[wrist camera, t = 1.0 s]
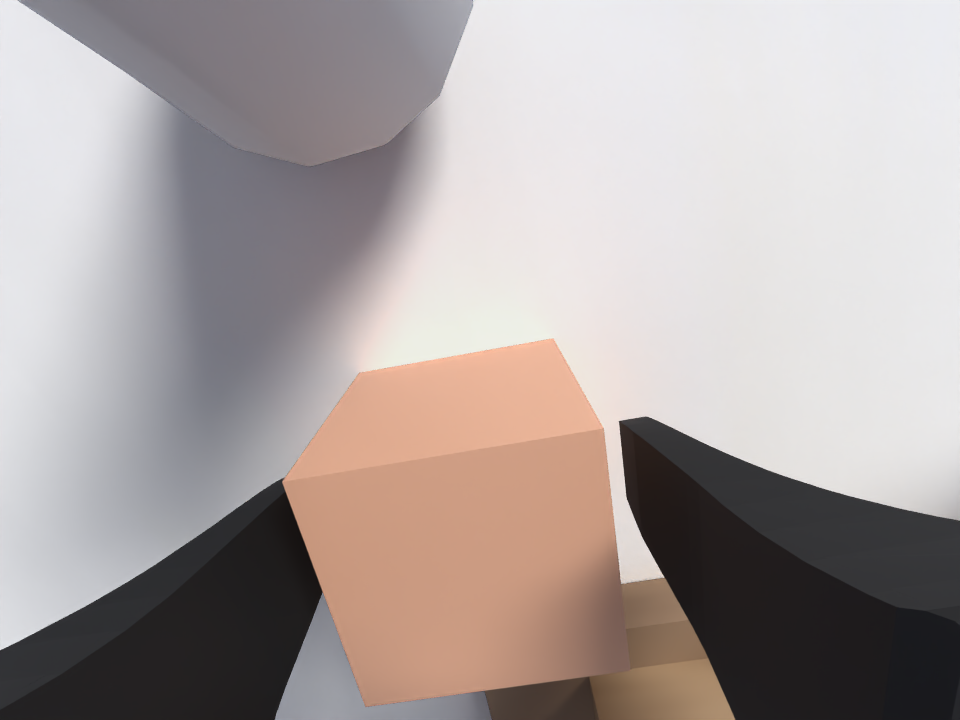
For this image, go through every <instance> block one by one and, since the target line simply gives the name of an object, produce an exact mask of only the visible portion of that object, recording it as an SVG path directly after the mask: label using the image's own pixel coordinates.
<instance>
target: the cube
mask: <svg viewBox="0 0 960 720" xmlns="http://www.w3.org/2000/svg"><path fill="white" fill-rule="evenodd" d="M282 483H283V486H284V488H285V491H286V494H287V497H288V499H289V502H290V505H291V507H292V510H293V513H294V515H295V518H296V521H297V524H298V526H299V529H300V532H301V534H302V537H303V540H304V542H305V545H306V548H307V551H308V553H309V556H310V559H311V561H312V564H313V567H314V569H315V572H316V575H317V577H318V580H319V583H320V586H321V588H322V591H323V594H324V596H325V599H326V602H327V604H328V607H329V610H330V613H331V615H332V618H333V621H334V623H335V626H336V629H337V631H338V634H339V637H340V639H341V642H342V645H343V648H344V650H345V653H346V656H347V658H348V661H349V664H350V666H351V669H352V672H353V675H354V677H355V680H356V683H357V685H358V688H359V691H360V693H361V696H362V699H363V702H364V704H365V707H369V706H376V705H384V704H391V703H398V702H406V701H413V700H420V699H427V698H435V697H442V696H449V695H457V694H464V693H471V692H479V691H486V690H493V689H501V688H508V687H515V686H523V685H530V684H537V683H544V682H552V681H559V680H566V679H574V678H581V677H588V676H596V675H603V674H610V673H618V672H625V671H631V670H630V661H629V652H628V643H627V634H626V625H625V616H624V607H623V598H622V589H621V580H620V571H619V562H618V553H617V544H616V535H615V526H614V517H613V508H612V499H611V490H610V481H609V472H608V463H607V454H606V445H605V436H604V428H603V426H602V425H601V423H600V421H599V419H598V418H597V416H596V414H595V412H594V410H593V409H592V407H591V405H590V403H589V401H588V400H587V398H586V396H585V394H584V393H583V391H582V389H581V387H580V385H579V384H578V382H577V380H576V378H575V376H574V375H573V373H572V371H571V369H570V368H569V366H568V364H567V362H566V360H565V359H564V357H563V355H562V353H561V351H560V350H559V348H558V346H557V344H556V343H555V341H554V339H547V340H542V341H536V342H530V343H525V344H519V345H514V346H508V347H502V348H497V349H491V350H485V351H480V352H474V353H469V354H463V355H457V356H452V357H446V358H440V359H435V360H429V361H424V362H418V363H412V364H407V365H401V366H395V367H390V368H384V369H379V370H373V371H367V372H362V373H359V374H358V375H357V377H356V378H355V380H354V381H353V382H352V384H351V385H350V387H349V388H348V390H347V391H346V392H345V394H344V395H343V397H342V398H341V399H340V401H339V402H338V404H337V405H336V406H335V408H334V409H333V411H332V412H331V413H330V415H329V416H328V418H327V419H326V421H325V422H324V423H323V425H322V426H321V428H320V429H319V430H318V432H317V433H316V435H315V436H314V437H313V439H312V440H311V442H310V443H309V445H308V446H307V447H306V449H305V450H304V452H303V453H302V454H301V456H300V457H299V459H298V460H297V461H296V463H295V464H294V466H293V467H292V468H291V470H290V471H289V473H288V474H287V476H286V477H285V478H284V480H283V481H282Z"/></svg>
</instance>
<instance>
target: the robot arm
mask: <svg viewBox="0 0 960 720" xmlns="http://www.w3.org/2000/svg"><path fill="white" fill-rule="evenodd" d="M619 425H620V436H621V446H622V456H623V466H624V476H625V486H626V496H627V500H628V503H629V505H630V508H631V510H632V513H633V516H634V518H635V521H636V523H637V525H638V528H639V530H640V533H641V535H642V537H643V539H644V541H645V543H646V545H647V547H648V548H649V550H650V552H651V554H652V556H653V558H654V559H655V561H656V563H657V565H658V567H659V568H660V570H661V572H662V574H663V575H664V577H665V579H666V581H667V583H668V584H669V586H670V588H671V590H672V592H673V593H674V595H675V597H676V599H677V600H678V602H679V604H680V606H681V608H682V609H683V611H684V613H685V615H686V616H687V618H688V620H689V622H690V624H691V625H692V627H693V629H694V631H695V633H696V635H697V637H698V639H699V641H700V643H701V645H702V647H703V648H704V650H705V652H706V655H707V657H708V659H709V661H710V664H711V666H712V668H713V670H714V673H715V675H716V677H717V679H718V682H719V684H720V686H721V688H722V691H723V693H724V695H725V697H726V700H727V702H728V704H729V706H730V709H731V711H732V713H733V716H734V718H735V720H960V521H958V520H953V519H947V518H942V517H936V516H932V515H927V514H922V513H917V512H913V511H908V510H903V509H899V508H895V507H891V506H887V505H882V504H878V503H874V502H870V501H866V500H862V499H858V498H854V497H850V496H847V495H843V494H840V493H836V492H832V491H829V490H825V489H822V488H819V487H816V486H813V485H810V484H807V483H803V482H800V481H797V480H794V479H791V478H788V477H785V476H782V475H779V474H777V473H774V472H771V471H768V470H766V469H763V468H761V467H758V466H756V465H753V464H751V463H748V462H746V461H743V460H741V459H738V458H736V457H733V456H731V455H729V454H726V453H724V452H722V451H720V450H717V449H715V448H713V447H711V446H709V445H706V444H704V443H702V442H700V441H698V440H696V439H694V438H692V437H690V436H688V435H685V434H683V433H681V432H679V431H677V430H675V429H673V428H671V427H669V426H667V425H665V424H663V423H661V422H659V421H656V420H654V419H652V418H649V417H640V418H634V419H629V420H623V421H619ZM283 480H284V478H283V479H281V480H279V481H277V482H275V483H274V484H272V485H270V486H269V487H267V488H266V489H264V490H263V491H261V492H260V493H258V494H257V495H255V496H254V497H252V498H251V499H250V500H248V501H247V502H245V503H244V504H243V505H241V506H240V507H238V508H237V509H236V510H234V511H233V512H231V513H230V514H229V515H227V516H226V517H224V518H223V519H222V520H220V521H219V522H217V523H216V524H215V525H213V526H212V527H210V528H209V529H207V530H206V531H205V532H203V533H202V534H200V535H199V536H197V537H196V538H194V539H193V540H191V541H190V542H188V543H187V544H185V545H184V546H183V547H181V548H180V549H178V550H177V551H175V552H174V553H172V554H171V555H169V556H168V557H166V558H165V559H163V560H162V561H160V562H159V563H157V564H156V565H154V566H153V567H151V568H149V569H148V570H146V571H145V572H143V573H142V574H140V575H138V576H137V577H135V578H133V579H132V580H130V581H129V582H127V583H125V584H124V585H122V586H120V587H118V588H117V589H115V590H113V591H112V592H110V593H108V594H106V595H105V596H103V597H101V598H100V599H98V600H96V601H94V602H93V603H91V604H89V605H87V606H85V607H84V608H82V609H80V610H78V611H76V612H74V613H72V614H70V615H68V616H66V617H65V618H63V619H61V620H59V621H57V622H55V623H53V624H51V625H49V626H47V627H45V628H44V629H42V630H40V631H38V632H36V633H34V634H32V635H30V636H28V637H26V638H24V639H23V640H21V641H19V642H17V643H15V644H13V645H11V646H9V647H6V648H4V649H2V650H0V720H275V716H276V713H277V710H278V707H279V704H280V701H281V699H282V696H283V693H284V690H285V687H286V685H287V682H288V680H289V677H290V675H291V672H292V669H293V667H294V664H295V662H296V659H297V657H298V654H299V652H300V649H301V646H302V644H303V641H304V639H305V636H306V634H307V631H308V629H309V626H310V624H311V621H312V618H313V616H314V613H315V610H316V608H317V605H318V603H319V600H320V597H321V595H322V592H323V591H322V588H321V586H320V583H319V580H318V577H317V575H316V572H315V569H314V567H313V564H312V561H311V559H310V556H309V553H308V551H307V548H306V545H305V542H304V540H303V537H302V534H301V532H300V529H299V526H298V524H297V521H296V518H295V515H294V513H293V510H292V507H291V505H290V502H289V499H288V497H287V494H286V491H285V488H284V486H283V483H282V481H283Z"/></svg>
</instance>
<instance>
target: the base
mask: <svg viewBox="0 0 960 720" xmlns="http://www.w3.org/2000/svg"><path fill="white" fill-rule="evenodd" d="M621 589H622V598H623V607H624V616H625V625H626V634H627V643H628V652H629V661H630V670H631V671H625V672H618V673H610V674H603V675H596V676H588V677H581V678H574V679H566V680H559V681H552V682H544V683H537V684H530V685H523V686H515V687H508V688H501V689H493V690H486V691H485V694H486V698H487V702H488V706H489V710H490V714H491V718H492V720H735V718H734V716H733V713H732V711H731V709H730V706H729V704H728V702H727V700H726V697H725V695H724V693H723V691H722V688H721V686H720V684H719V682H718V679H717V677H716V675H715V673H714V670H713V668H712V666H711V664H710V661H709V659H708V657H707V655H706V652H705V650H704V648H703V647H702V645H701V643H700V641H699V639H698V637H697V635H696V633H695V631H694V629H693V627H692V625H691V624H690V622H689V620H688V618H687V616H686V615H685V613H684V611H683V609H682V608H681V606H680V604H679V602H678V600H677V599H676V597H675V595H674V593H673V592H672V590H671V588H670V586H669V584H668V583H667V581H666V579H665V578H661V579H654V580H647V581H640V582H634V583H627V584H621Z"/></svg>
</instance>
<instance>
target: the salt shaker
mask: <svg viewBox="0 0 960 720" xmlns="http://www.w3.org/2000/svg"><path fill="white" fill-rule="evenodd" d="M18 1H19V2H21V3H22V4H24V5H25V6H27V7H28V8H30V9H31V10H33V11H34V12H36V13H37V14H39V15H40V16H42V17H43V18H45V19H46V20H48V21H49V22H51V23H52V24H54V25H55V26H57V27H58V28H60V29H61V30H63V31H64V32H66V33H67V34H69V35H70V36H72V37H73V38H75V39H76V40H78V41H79V42H81V43H82V44H84V45H85V46H87V47H88V48H90V49H91V50H93V51H94V52H96V53H97V54H99V55H100V56H102V57H103V58H105V59H106V60H108V61H109V62H111V63H112V64H114V65H116V66H117V67H119V68H120V69H122V70H123V71H125V72H126V73H127V74H129V75H130V76H132V77H133V78H135V79H136V80H137V81H139V82H140V83H142V84H143V85H145V86H146V87H147V88H149V89H150V90H152V91H153V92H155V93H156V94H157V95H159V96H160V97H162V98H163V99H165V100H166V101H167V102H169V103H170V104H172V105H173V106H175V107H176V108H177V109H179V110H180V111H182V112H183V113H185V114H186V115H187V116H189V117H190V118H192V119H193V120H195V121H196V122H197V123H199V124H200V125H202V126H203V127H205V128H206V129H207V130H209V131H210V132H212V133H213V134H215V135H216V136H217V137H219V138H220V139H222V140H223V141H225V142H226V143H227V144H229V145H230V146H232V147H233V148H236V149H240V150H244V151H248V152H252V153H256V154H260V155H264V156H268V157H272V158H276V159H280V160H284V161H288V162H292V163H296V164H300V165H304V166H308V167H312V166H315V165H319V164H322V163H325V162H329V161H332V160H336V159H339V158H342V157H346V156H349V155H353V154H356V153H359V152H363V151H366V150H370V149H373V148H376V147H380V146H383V145H386V144H387V143H388V142H389V141H390V140H392V139H393V138H394V137H395V136H396V135H397V134H398V133H399V132H400V131H401V130H402V129H404V128H405V127H406V126H407V125H408V124H409V123H410V122H411V121H412V120H413V119H415V118H416V117H417V116H418V115H419V114H420V113H421V112H422V111H423V110H424V109H426V108H427V107H428V106H429V105H430V104H431V103H432V102H433V101H434V100H435V99H437V98H438V97H439V96H440V93H441V90H442V88H443V85H444V82H445V80H446V77H447V74H448V72H449V69H450V66H451V64H452V61H453V58H454V56H455V53H456V50H457V48H458V45H459V42H460V40H461V37H462V34H463V32H464V29H465V26H466V24H467V21H468V18H469V16H470V13H471V10H472V7H473V0H18Z"/></svg>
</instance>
